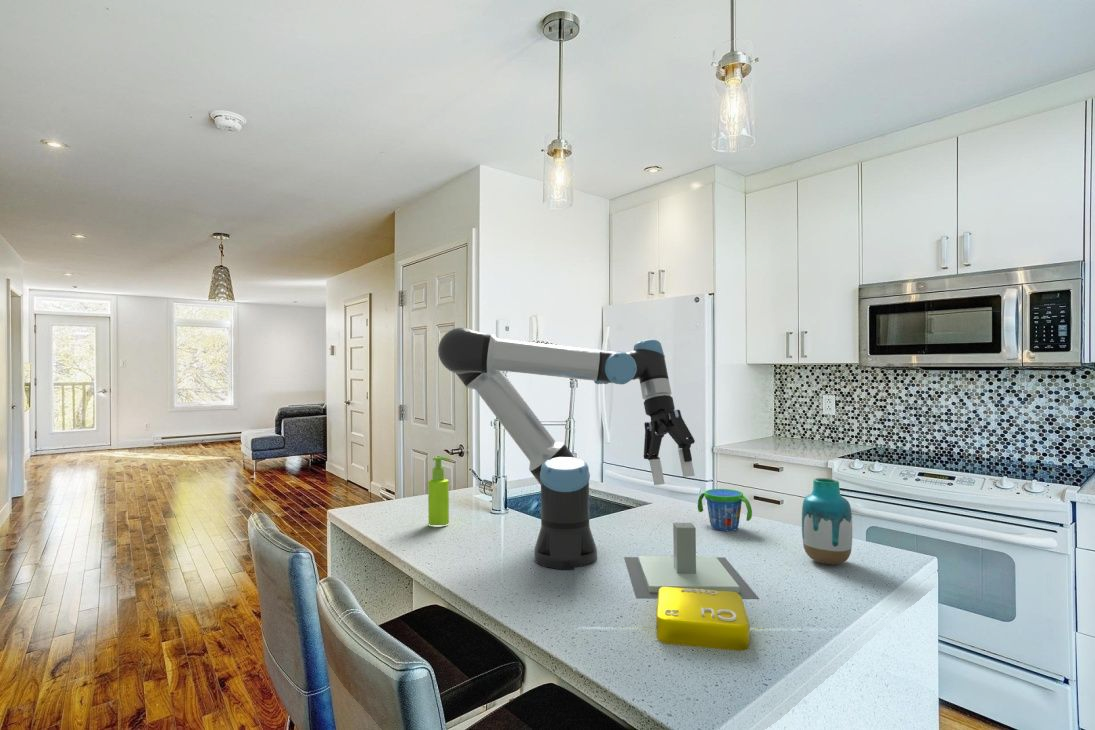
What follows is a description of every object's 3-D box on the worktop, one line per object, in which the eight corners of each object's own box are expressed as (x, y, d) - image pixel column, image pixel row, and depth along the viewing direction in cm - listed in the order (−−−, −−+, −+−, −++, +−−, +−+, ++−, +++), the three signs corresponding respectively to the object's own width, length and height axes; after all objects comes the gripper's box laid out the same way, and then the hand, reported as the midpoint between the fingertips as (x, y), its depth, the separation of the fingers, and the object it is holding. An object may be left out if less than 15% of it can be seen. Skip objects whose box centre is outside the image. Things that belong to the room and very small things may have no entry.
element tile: (740, 614, 104) (740, 588, 104) (751, 654, 90) (750, 624, 90) (658, 607, 108) (658, 582, 108) (656, 645, 93) (655, 616, 93)
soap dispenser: (450, 527, 162) (449, 458, 162) (426, 527, 162) (426, 458, 162) (454, 522, 168) (453, 455, 168) (431, 522, 168) (430, 455, 168)
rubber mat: (636, 600, 110) (636, 598, 110) (623, 558, 134) (623, 557, 134) (759, 600, 109) (759, 598, 109) (725, 559, 133) (725, 557, 133)
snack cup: (690, 525, 162) (689, 490, 162) (711, 519, 168) (711, 485, 168) (738, 538, 150) (738, 500, 150) (759, 530, 156) (759, 494, 156)
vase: (851, 558, 133) (850, 477, 133) (854, 573, 123) (853, 486, 124) (802, 552, 138) (801, 474, 138) (801, 566, 128) (800, 482, 128)
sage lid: (649, 592, 113) (648, 537, 113) (638, 561, 131) (637, 514, 131) (739, 592, 112) (738, 537, 113) (715, 561, 130) (715, 514, 131)
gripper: (697, 383, 136) (716, 471, 129) (646, 410, 158) (660, 486, 151) (671, 383, 133) (689, 473, 126) (622, 411, 155) (636, 488, 148)
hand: (673, 480), depth 139 cm, fingers open, 13 cm apart
